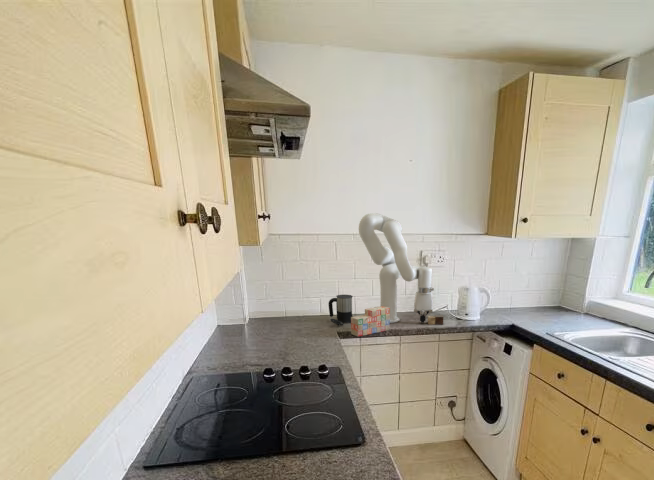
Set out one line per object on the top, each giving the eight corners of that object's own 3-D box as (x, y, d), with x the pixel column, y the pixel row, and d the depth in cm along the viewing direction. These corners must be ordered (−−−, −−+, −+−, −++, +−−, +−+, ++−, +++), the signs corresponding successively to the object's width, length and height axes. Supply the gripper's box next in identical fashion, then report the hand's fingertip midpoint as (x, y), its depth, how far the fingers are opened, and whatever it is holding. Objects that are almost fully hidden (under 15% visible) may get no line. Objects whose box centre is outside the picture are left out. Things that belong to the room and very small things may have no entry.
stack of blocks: (358, 337, 209) (357, 313, 204) (351, 334, 214) (350, 311, 209) (389, 330, 222) (390, 307, 217) (382, 327, 226) (382, 305, 221)
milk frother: (351, 318, 244) (350, 293, 238) (356, 325, 230) (356, 299, 224) (327, 320, 240) (326, 295, 234) (331, 327, 226) (330, 300, 220)
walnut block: (435, 324, 232) (435, 316, 231) (434, 322, 237) (434, 315, 235) (443, 324, 232) (443, 316, 231) (442, 322, 237) (442, 315, 235)
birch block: (428, 324, 233) (428, 317, 231) (427, 322, 236) (427, 315, 235) (435, 324, 233) (435, 317, 231) (434, 322, 236) (434, 315, 235)
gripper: (436, 289, 230) (434, 320, 238) (410, 288, 230) (409, 320, 238) (438, 291, 224) (436, 324, 231) (411, 291, 223) (410, 323, 231)
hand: (422, 322), depth 234 cm, fingers closed
